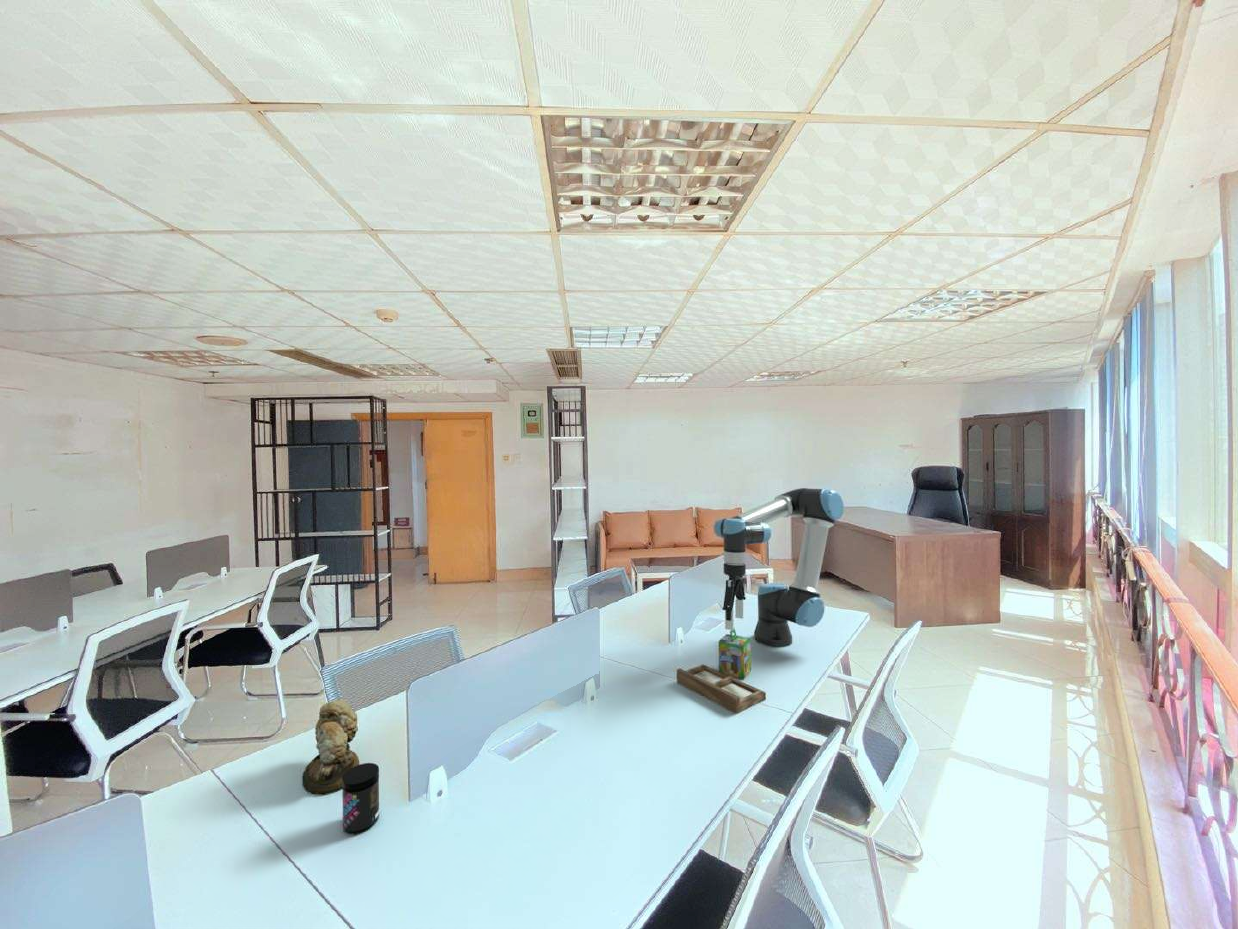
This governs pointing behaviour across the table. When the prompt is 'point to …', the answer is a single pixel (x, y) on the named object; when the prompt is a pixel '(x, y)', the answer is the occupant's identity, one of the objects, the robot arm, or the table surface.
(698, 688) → the brown wooden tray
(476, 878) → the table surface
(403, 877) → the table surface
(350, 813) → the supplement container
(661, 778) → the table surface
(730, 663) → the chalk box
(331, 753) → the tan statuette
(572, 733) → the table surface
